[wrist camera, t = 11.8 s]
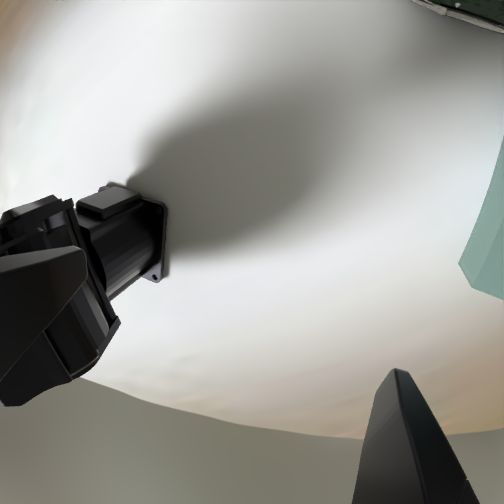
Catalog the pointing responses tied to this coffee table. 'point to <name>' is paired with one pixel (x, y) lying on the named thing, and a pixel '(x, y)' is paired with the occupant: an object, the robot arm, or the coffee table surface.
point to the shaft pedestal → (488, 239)
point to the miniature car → (470, 11)
